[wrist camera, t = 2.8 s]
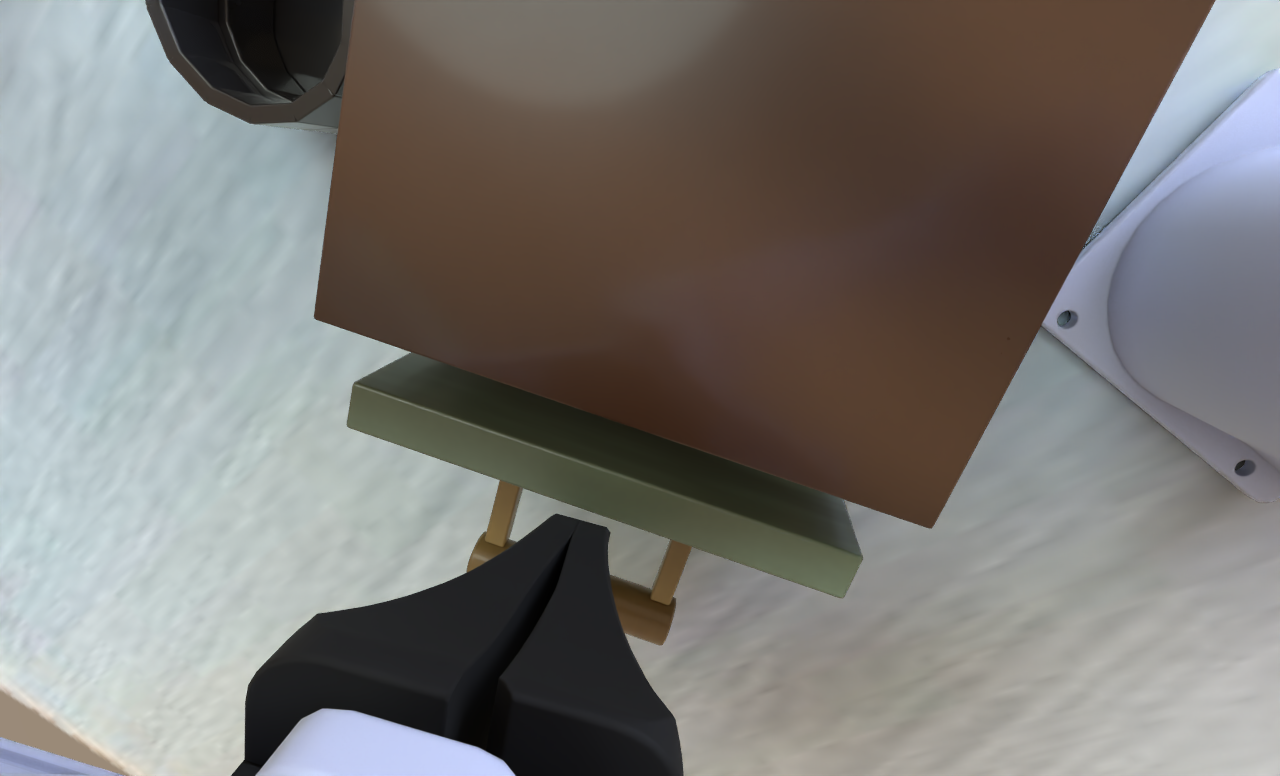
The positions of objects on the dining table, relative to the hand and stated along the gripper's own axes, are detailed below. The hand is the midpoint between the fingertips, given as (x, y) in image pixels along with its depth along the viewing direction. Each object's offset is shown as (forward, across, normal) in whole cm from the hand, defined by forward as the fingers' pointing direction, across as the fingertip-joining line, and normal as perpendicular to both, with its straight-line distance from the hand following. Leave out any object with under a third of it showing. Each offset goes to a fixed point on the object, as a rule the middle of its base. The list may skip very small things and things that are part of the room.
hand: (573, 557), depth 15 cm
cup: (+8, +11, -10) cm, 17 cm away
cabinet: (+8, -1, -10) cm, 13 cm away
